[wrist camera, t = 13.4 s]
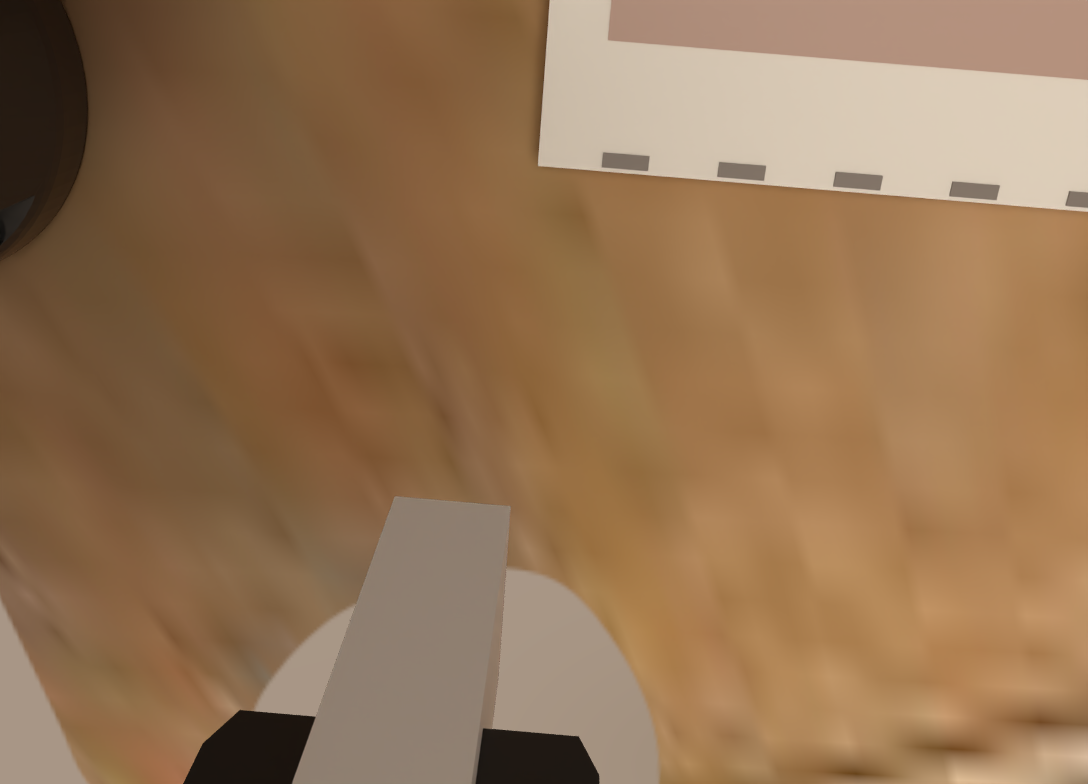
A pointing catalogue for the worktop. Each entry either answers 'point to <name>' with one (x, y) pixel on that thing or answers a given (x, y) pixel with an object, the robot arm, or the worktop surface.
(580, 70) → the slab
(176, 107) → the worktop surface
